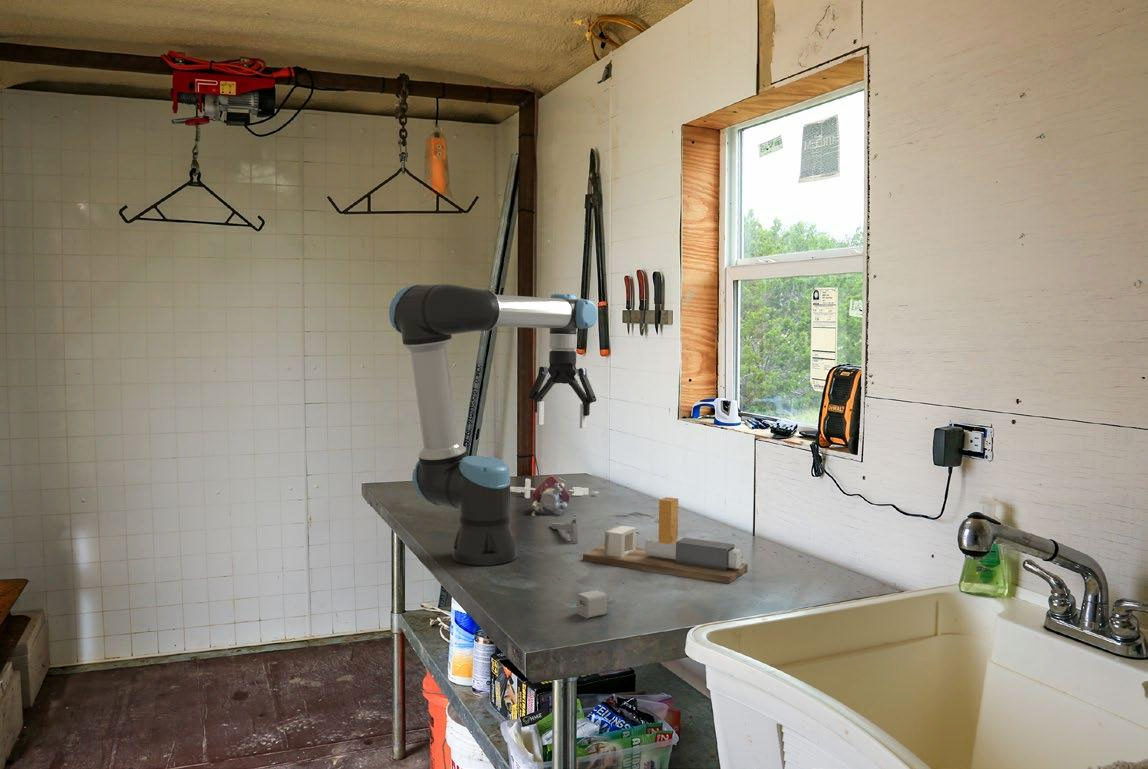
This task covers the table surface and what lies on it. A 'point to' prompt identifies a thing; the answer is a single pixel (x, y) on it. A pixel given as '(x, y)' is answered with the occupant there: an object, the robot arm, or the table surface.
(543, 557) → the table surface
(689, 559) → the outer sleeve
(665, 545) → the stacked block assembly
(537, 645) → the table surface
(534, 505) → the brake caliper
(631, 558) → the base board
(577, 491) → the miniature set
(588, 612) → the usb wall charger
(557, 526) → the caliper
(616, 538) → the socket block
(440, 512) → the table surface
